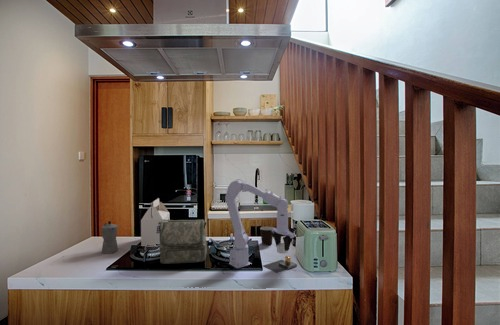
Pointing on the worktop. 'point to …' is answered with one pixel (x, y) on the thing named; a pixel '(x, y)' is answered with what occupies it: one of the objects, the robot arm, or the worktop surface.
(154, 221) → the gable box
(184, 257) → the lunch bag
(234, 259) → the robot arm
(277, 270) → the mat
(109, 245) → the coffeepot
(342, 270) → the worktop surface
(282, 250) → the ring
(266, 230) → the coffee mug
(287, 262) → the doorknob
